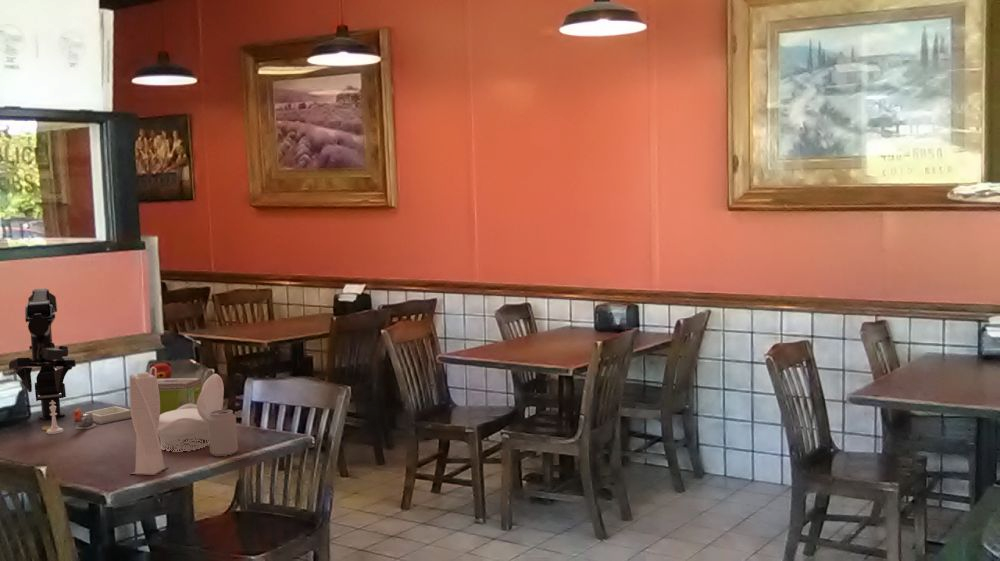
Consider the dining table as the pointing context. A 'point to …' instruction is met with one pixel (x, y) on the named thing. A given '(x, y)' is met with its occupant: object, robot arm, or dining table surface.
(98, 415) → the tray
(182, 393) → the tea box
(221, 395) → the chair
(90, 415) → the crank
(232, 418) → the can
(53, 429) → the chess piece
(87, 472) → the dining table surface
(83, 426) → the crank base
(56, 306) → the robot arm
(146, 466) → the skyscraper
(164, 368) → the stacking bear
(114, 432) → the dining table surface
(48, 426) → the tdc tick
